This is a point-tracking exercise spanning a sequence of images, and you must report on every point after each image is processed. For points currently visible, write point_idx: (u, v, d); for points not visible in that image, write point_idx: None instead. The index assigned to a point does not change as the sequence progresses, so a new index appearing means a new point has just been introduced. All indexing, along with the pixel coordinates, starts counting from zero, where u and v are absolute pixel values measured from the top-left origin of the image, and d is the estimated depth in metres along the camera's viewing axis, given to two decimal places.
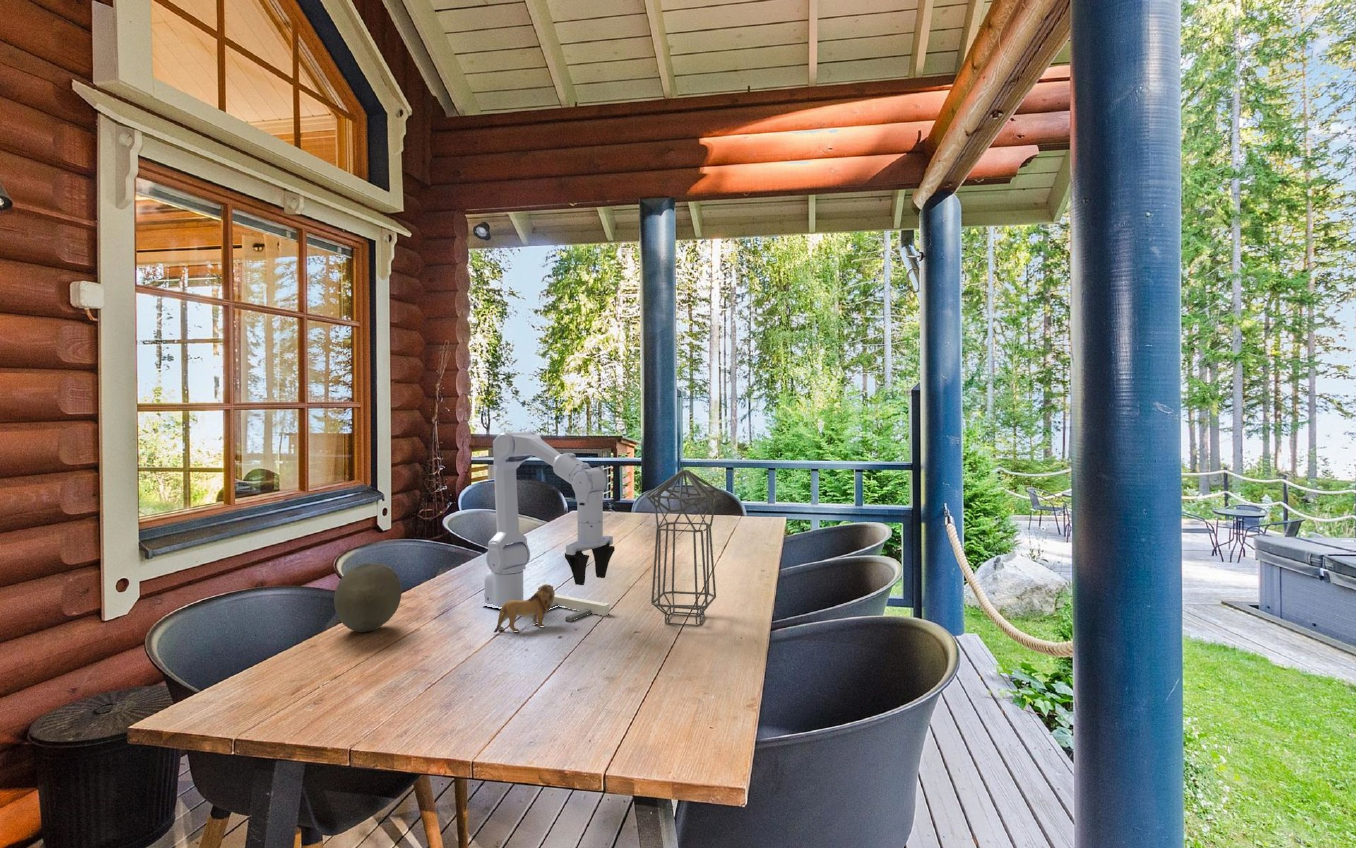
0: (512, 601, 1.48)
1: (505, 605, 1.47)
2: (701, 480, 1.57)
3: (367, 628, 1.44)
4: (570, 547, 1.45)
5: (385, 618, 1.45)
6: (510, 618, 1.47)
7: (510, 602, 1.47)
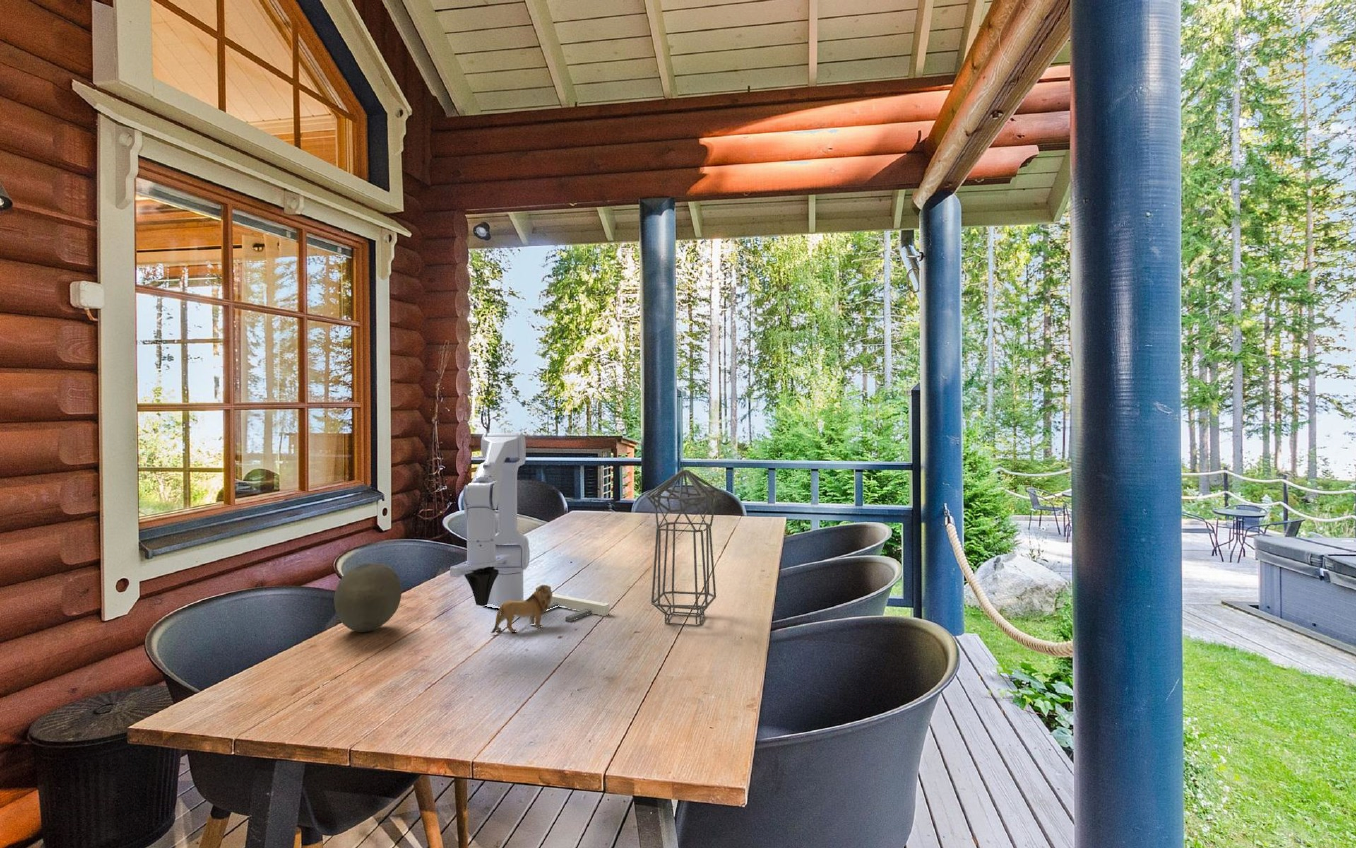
0: (510, 601, 1.47)
1: (503, 605, 1.47)
2: (701, 480, 1.57)
3: (367, 628, 1.44)
4: (454, 569, 1.33)
5: (385, 618, 1.45)
6: (507, 619, 1.46)
7: (508, 602, 1.47)
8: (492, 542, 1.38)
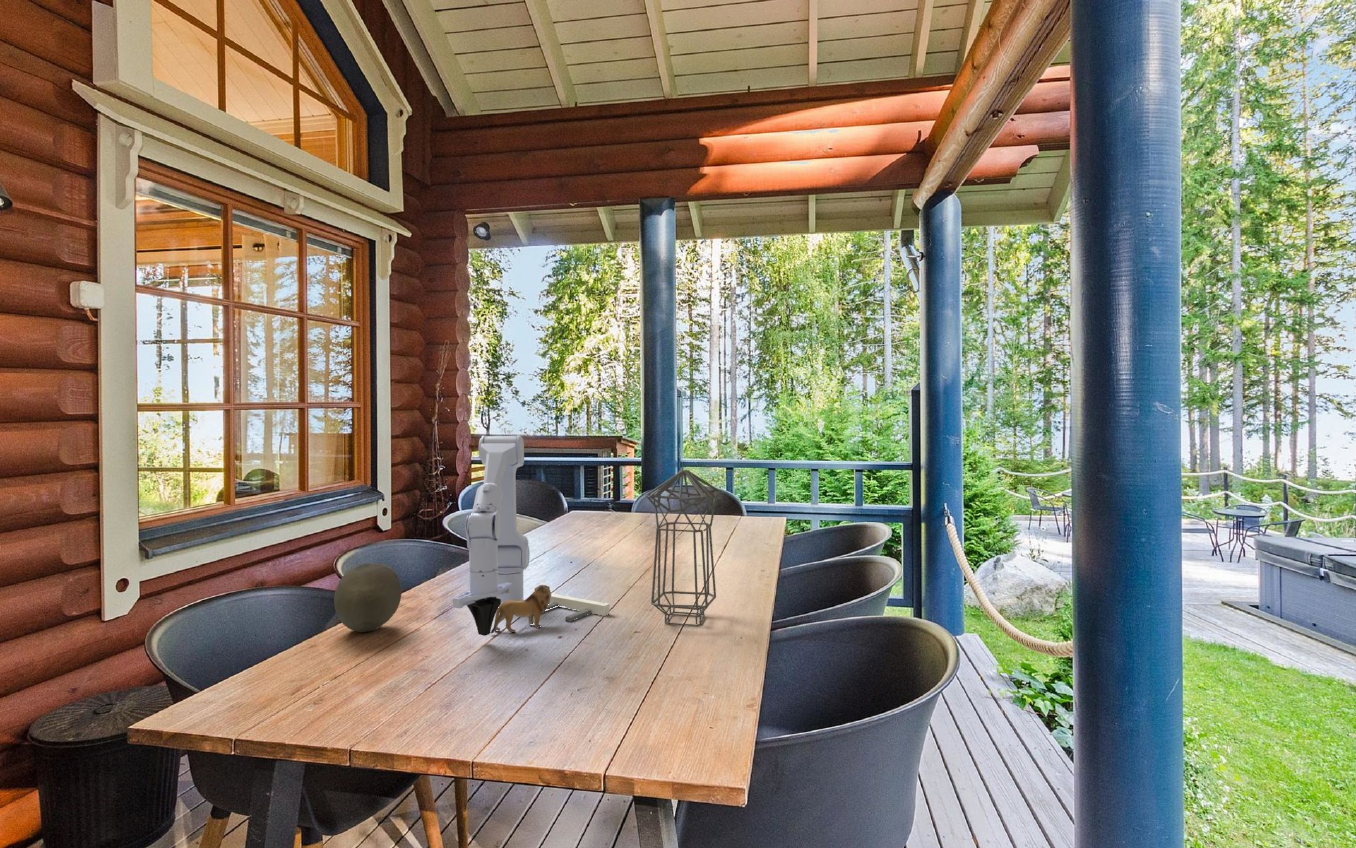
0: (509, 602, 1.47)
1: (502, 606, 1.47)
2: (701, 480, 1.57)
3: (367, 628, 1.44)
4: (457, 600, 1.33)
5: (385, 618, 1.45)
6: (506, 619, 1.46)
7: (507, 603, 1.47)
8: (494, 572, 1.38)
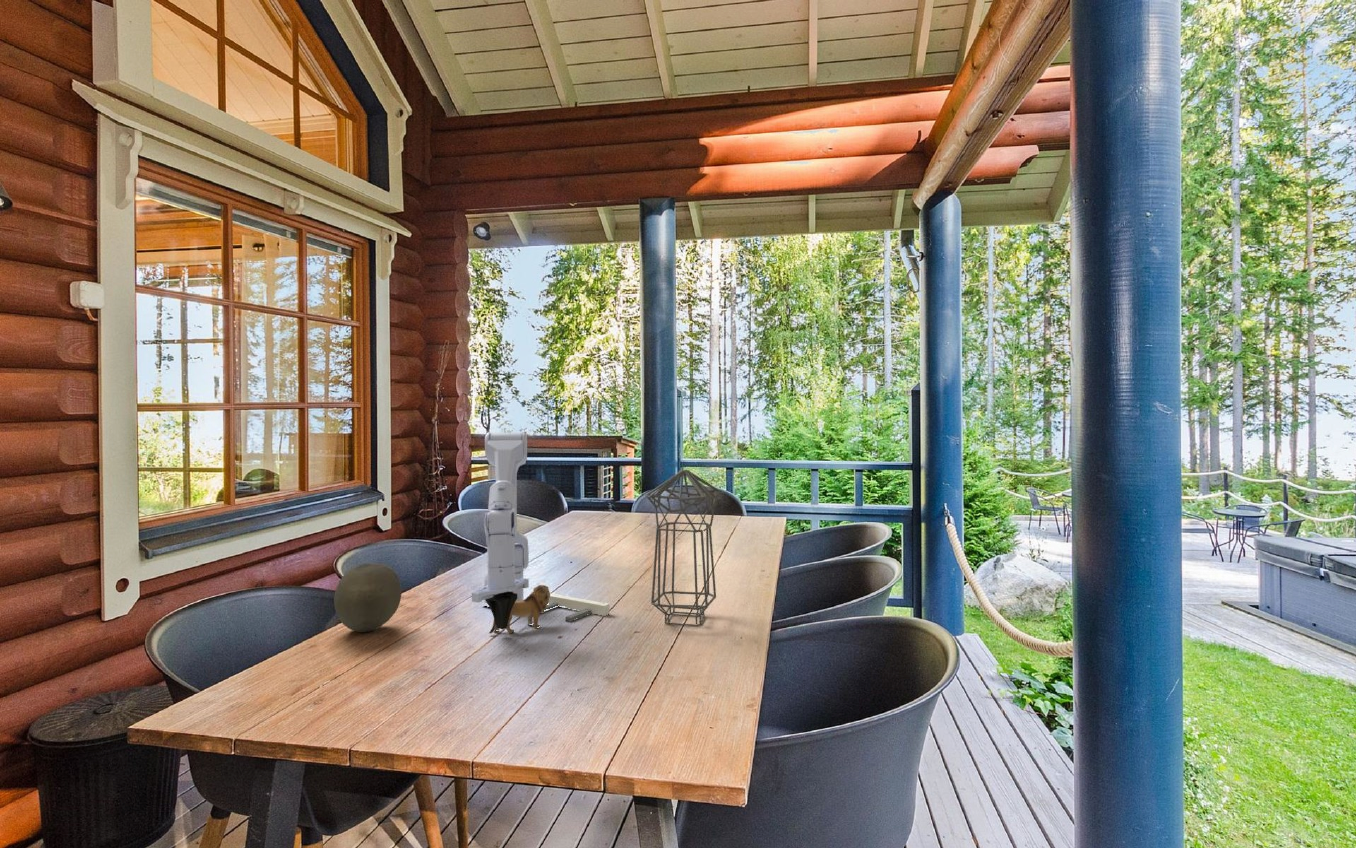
0: None
1: None
2: (701, 480, 1.57)
3: (367, 628, 1.44)
4: (476, 594, 1.37)
5: (385, 618, 1.45)
6: None
7: None
8: (512, 567, 1.43)
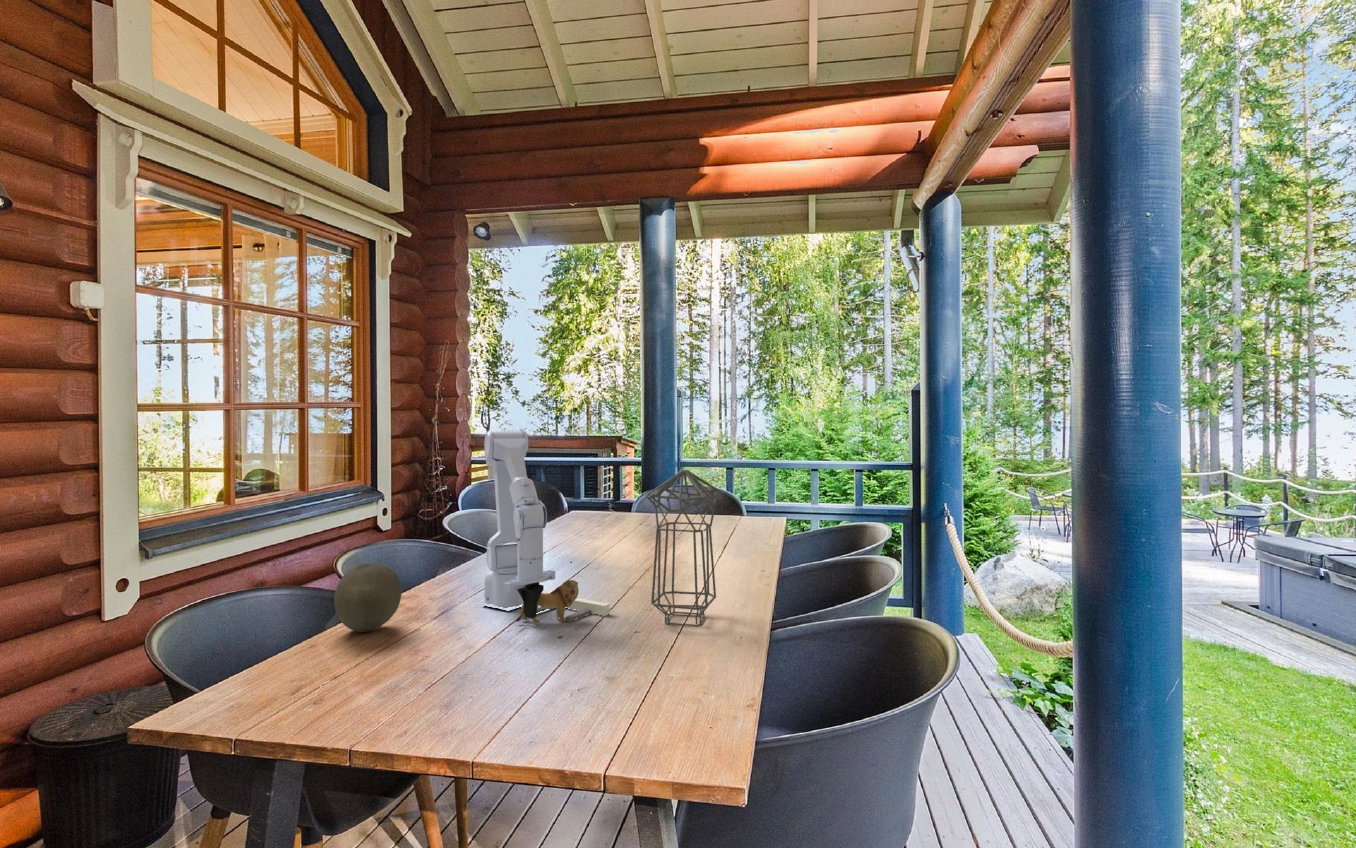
0: None
1: None
2: (701, 480, 1.57)
3: (367, 628, 1.44)
4: (507, 584, 1.45)
5: (385, 618, 1.45)
6: None
7: None
8: (540, 559, 1.50)
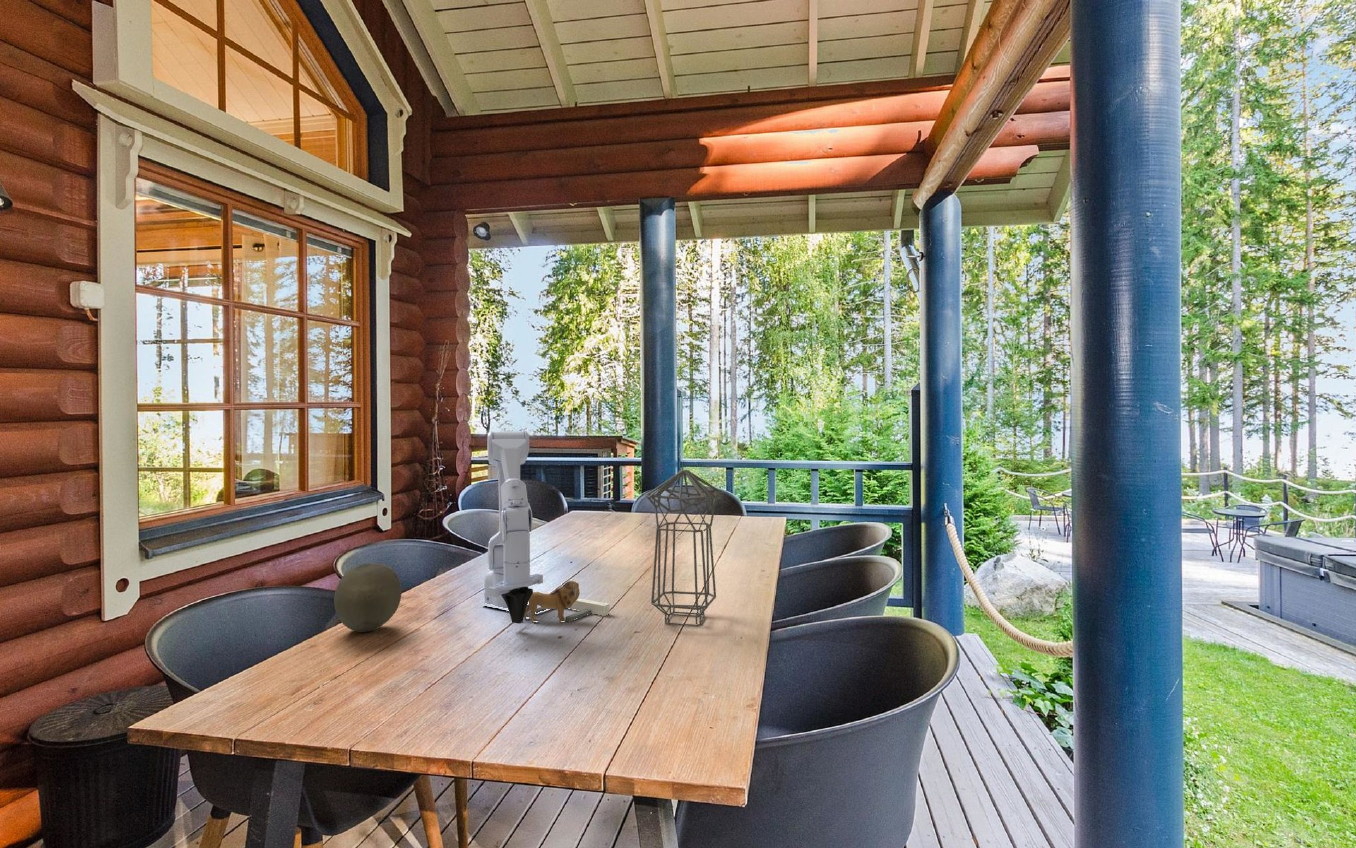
0: (534, 593, 1.54)
1: None
2: (701, 480, 1.57)
3: (367, 628, 1.44)
4: (493, 589, 1.41)
5: (385, 618, 1.45)
6: (531, 609, 1.54)
7: None
8: (527, 563, 1.47)
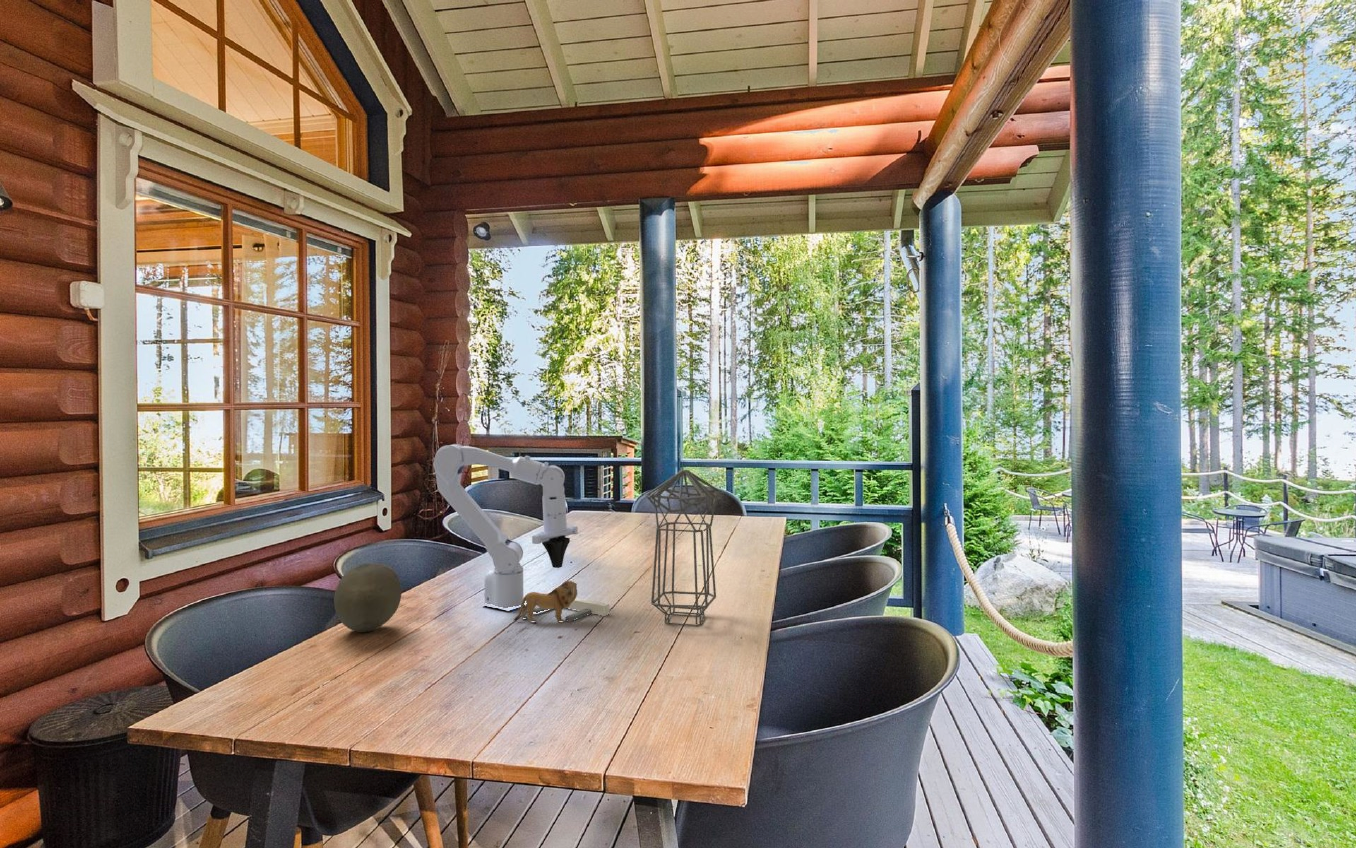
0: (532, 593, 1.54)
1: (526, 596, 1.55)
2: (701, 480, 1.57)
3: (367, 628, 1.44)
4: (535, 537, 1.62)
5: (385, 618, 1.45)
6: (528, 609, 1.54)
7: (530, 594, 1.54)
8: (564, 515, 1.67)
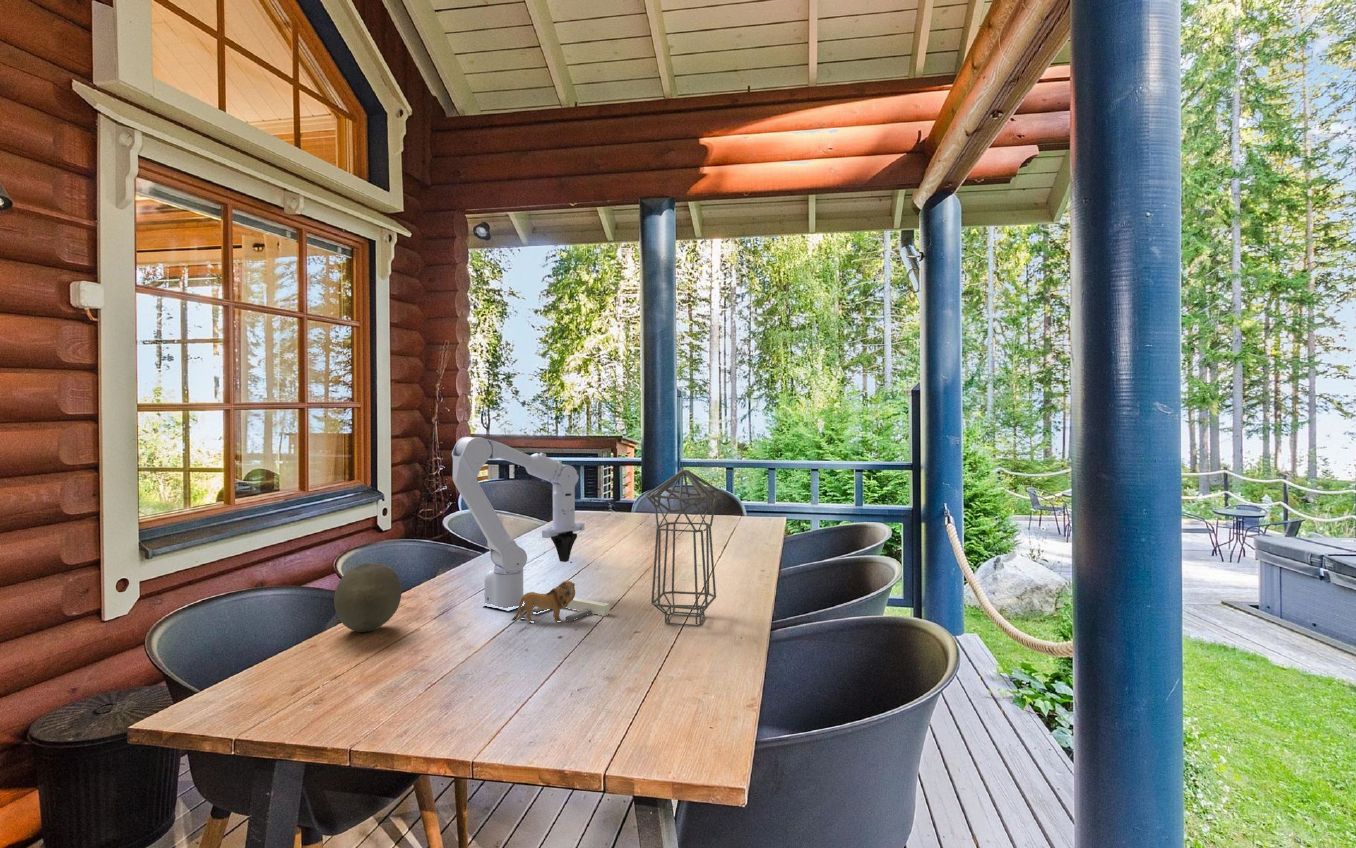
0: (530, 593, 1.54)
1: (524, 596, 1.55)
2: (701, 480, 1.57)
3: (367, 628, 1.44)
4: (545, 531, 1.69)
5: (385, 618, 1.45)
6: (526, 609, 1.54)
7: (528, 594, 1.54)
8: (573, 511, 1.75)
